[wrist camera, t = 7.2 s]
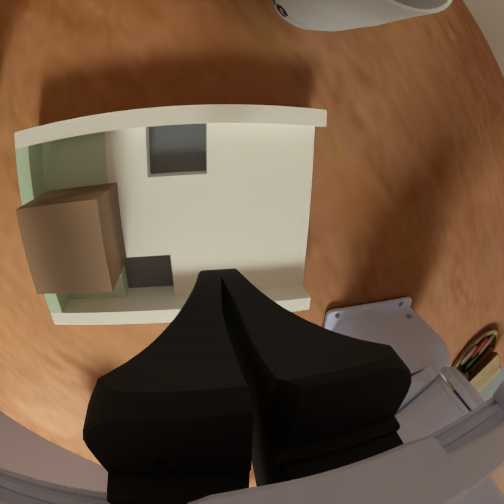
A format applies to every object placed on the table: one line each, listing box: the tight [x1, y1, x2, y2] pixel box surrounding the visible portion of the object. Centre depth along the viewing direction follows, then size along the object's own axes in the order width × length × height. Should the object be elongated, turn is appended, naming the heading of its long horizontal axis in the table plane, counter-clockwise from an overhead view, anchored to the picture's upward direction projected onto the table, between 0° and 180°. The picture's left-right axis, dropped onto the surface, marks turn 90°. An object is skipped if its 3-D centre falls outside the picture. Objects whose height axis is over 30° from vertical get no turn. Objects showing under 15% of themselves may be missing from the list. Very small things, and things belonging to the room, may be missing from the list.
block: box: [16, 183, 127, 294], centre depth 15 cm, size 5×5×4 cm
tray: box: [14, 104, 327, 325], centre depth 18 cm, size 18×13×3 cm
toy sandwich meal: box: [447, 330, 501, 393], centre depth 35 cm, size 12×14×5 cm
